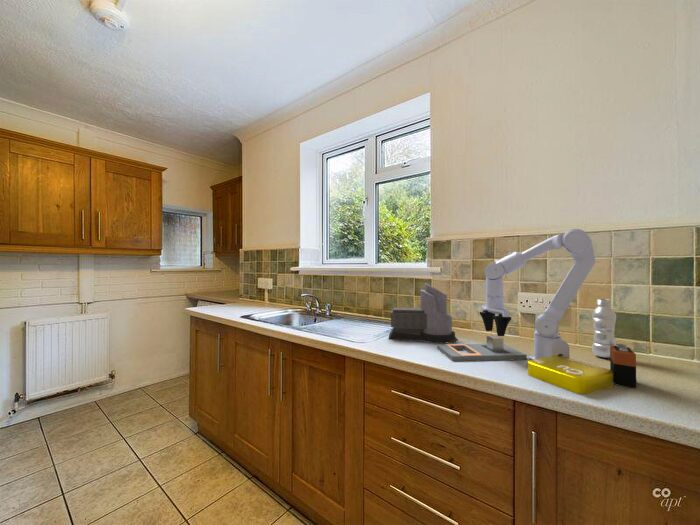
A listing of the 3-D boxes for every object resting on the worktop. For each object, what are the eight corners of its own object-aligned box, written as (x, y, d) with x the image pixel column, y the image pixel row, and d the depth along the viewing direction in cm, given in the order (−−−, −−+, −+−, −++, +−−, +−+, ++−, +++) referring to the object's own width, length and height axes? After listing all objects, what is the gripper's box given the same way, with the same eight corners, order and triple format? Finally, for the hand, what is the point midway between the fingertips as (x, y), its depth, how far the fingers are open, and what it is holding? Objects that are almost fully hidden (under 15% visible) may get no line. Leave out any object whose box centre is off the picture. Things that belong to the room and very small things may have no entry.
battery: (631, 380, 78) (630, 344, 78) (637, 389, 72) (636, 350, 72) (610, 376, 80) (609, 341, 80) (613, 384, 75) (613, 347, 75)
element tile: (617, 387, 74) (617, 369, 74) (582, 397, 69) (581, 377, 69) (557, 368, 88) (557, 353, 88) (524, 375, 83) (524, 359, 83)
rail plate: (526, 359, 95) (526, 354, 96) (452, 360, 94) (452, 355, 94) (502, 347, 109) (502, 342, 109) (437, 348, 108) (437, 344, 108)
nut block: (503, 355, 100) (503, 338, 100) (492, 355, 100) (492, 338, 100) (497, 351, 104) (497, 335, 104) (486, 351, 104) (486, 335, 104)
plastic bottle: (609, 355, 99) (608, 298, 100) (622, 361, 93) (621, 301, 93) (587, 353, 101) (587, 298, 101) (598, 359, 95) (598, 300, 95)
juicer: (454, 334, 130) (454, 282, 130) (461, 344, 114) (461, 284, 115) (389, 332, 136) (389, 281, 136) (388, 340, 120) (387, 283, 120)
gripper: (473, 294, 109) (474, 328, 109) (495, 298, 95) (495, 338, 95) (491, 294, 110) (491, 328, 110) (515, 298, 95) (515, 338, 95)
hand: (494, 333), depth 102 cm, fingers open, 7 cm apart
